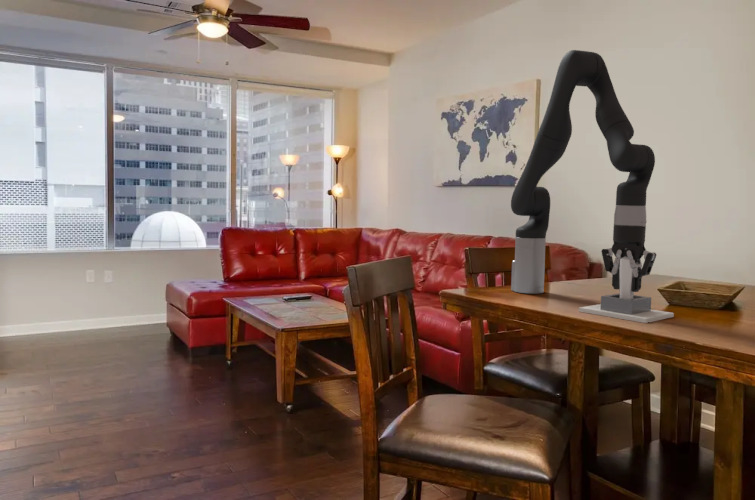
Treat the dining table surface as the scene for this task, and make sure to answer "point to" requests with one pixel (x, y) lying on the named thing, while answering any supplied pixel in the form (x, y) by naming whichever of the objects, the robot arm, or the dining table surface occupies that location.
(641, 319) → the stand board
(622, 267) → the perfume bottle
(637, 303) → the socket collar
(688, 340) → the dining table surface
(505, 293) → the dining table surface
